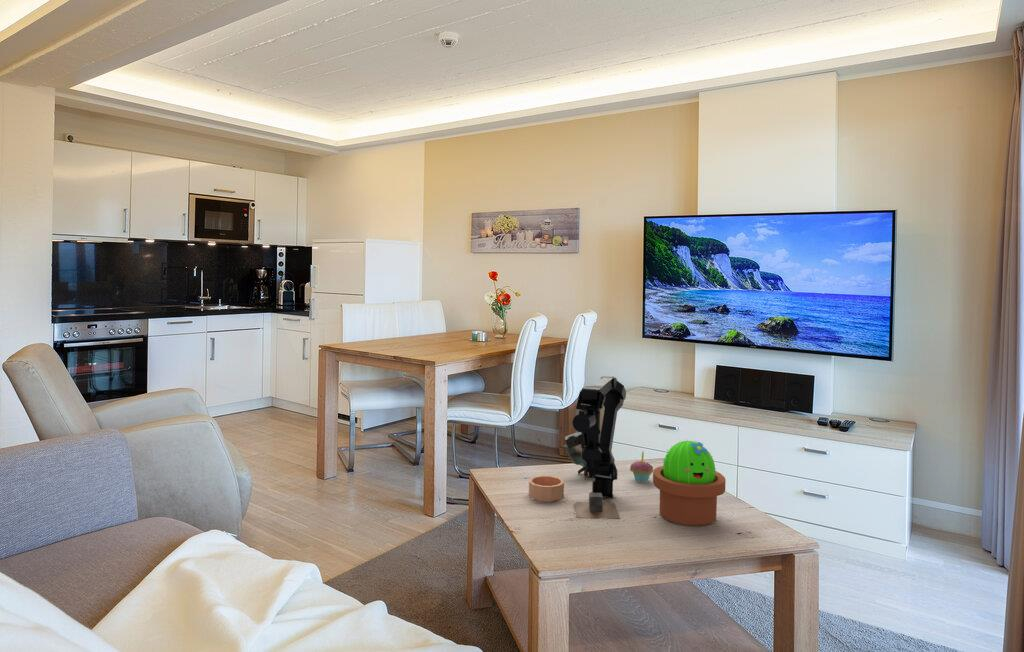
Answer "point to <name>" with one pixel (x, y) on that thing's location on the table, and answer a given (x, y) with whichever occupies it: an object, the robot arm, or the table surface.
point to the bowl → (546, 488)
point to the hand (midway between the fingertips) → (590, 472)
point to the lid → (596, 508)
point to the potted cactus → (688, 485)
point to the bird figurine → (576, 459)
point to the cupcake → (641, 470)
